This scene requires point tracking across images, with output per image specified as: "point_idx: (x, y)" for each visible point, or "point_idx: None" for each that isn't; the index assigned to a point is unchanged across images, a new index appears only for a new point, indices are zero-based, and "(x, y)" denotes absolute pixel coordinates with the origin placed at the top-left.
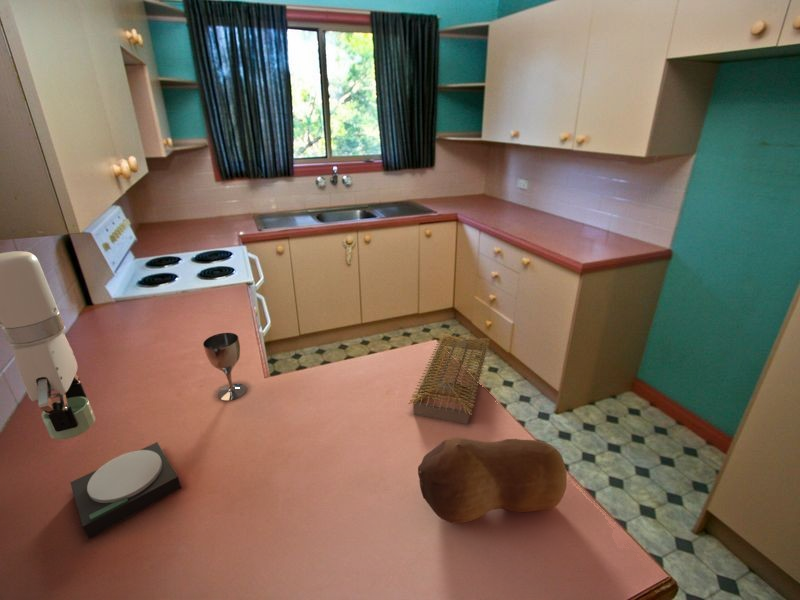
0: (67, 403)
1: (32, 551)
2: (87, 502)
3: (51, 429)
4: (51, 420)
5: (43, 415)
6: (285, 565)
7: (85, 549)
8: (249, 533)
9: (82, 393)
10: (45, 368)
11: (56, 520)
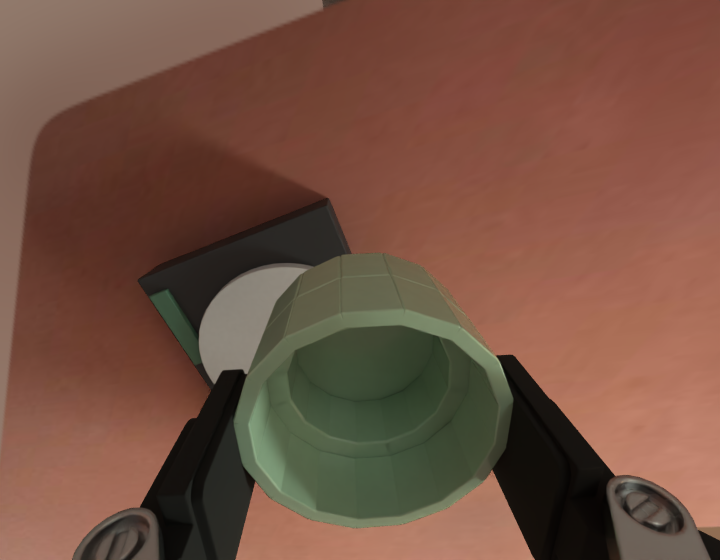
0: (484, 385)
1: (151, 142)
2: (222, 272)
3: (264, 333)
4: (188, 437)
5: (338, 328)
6: (38, 551)
7: (131, 264)
8: (109, 514)
9: (506, 492)
10: None
11: (243, 172)
